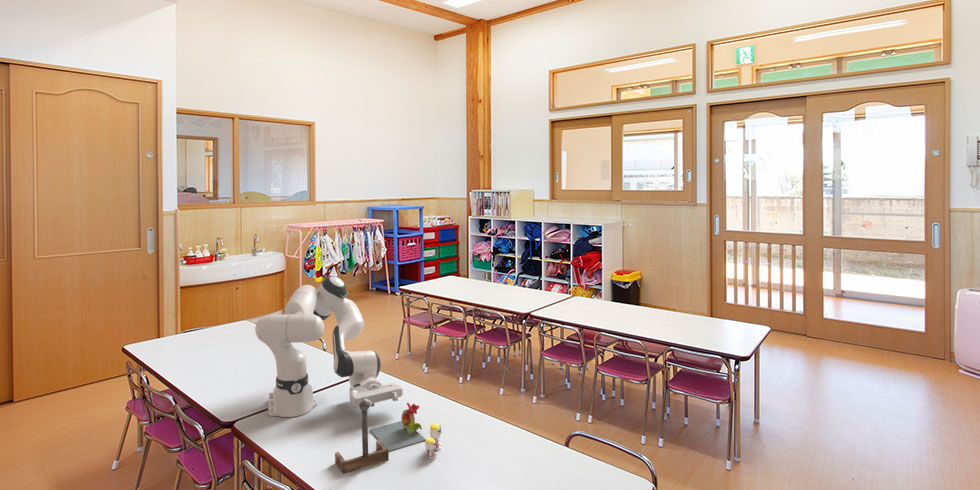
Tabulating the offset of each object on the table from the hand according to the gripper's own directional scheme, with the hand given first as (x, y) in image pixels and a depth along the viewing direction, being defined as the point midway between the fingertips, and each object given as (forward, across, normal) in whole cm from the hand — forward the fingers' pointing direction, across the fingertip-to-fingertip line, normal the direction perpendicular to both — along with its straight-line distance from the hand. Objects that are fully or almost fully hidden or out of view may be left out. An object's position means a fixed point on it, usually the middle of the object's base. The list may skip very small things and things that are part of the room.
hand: (384, 401), depth 201 cm
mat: (+11, 0, -9) cm, 14 cm away
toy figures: (+28, -6, -9) cm, 30 cm away
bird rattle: (+11, -5, -9) cm, 15 cm away
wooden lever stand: (+21, +17, -9) cm, 29 cm away
